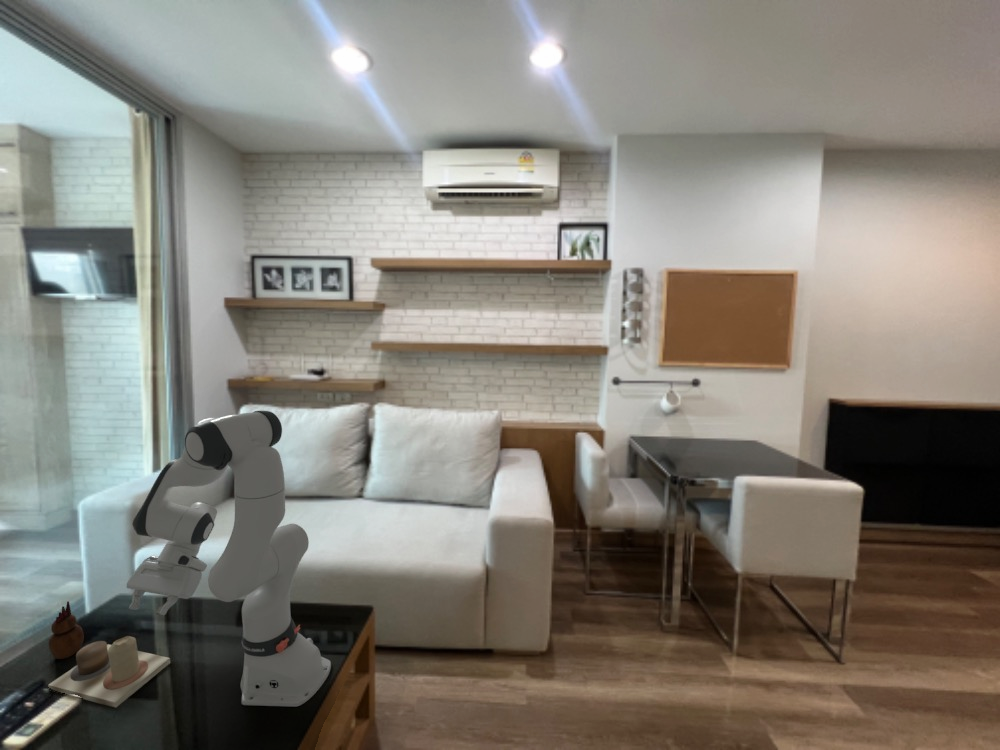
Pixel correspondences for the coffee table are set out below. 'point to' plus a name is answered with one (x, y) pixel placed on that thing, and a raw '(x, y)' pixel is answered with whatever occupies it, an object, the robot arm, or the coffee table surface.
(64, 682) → the board
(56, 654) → the wooden figurine
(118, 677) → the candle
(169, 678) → the coffee table surface
